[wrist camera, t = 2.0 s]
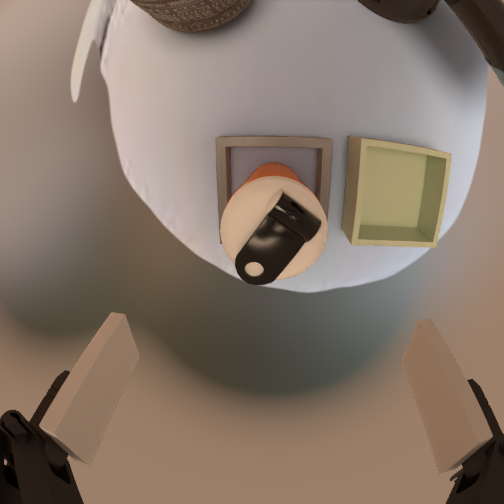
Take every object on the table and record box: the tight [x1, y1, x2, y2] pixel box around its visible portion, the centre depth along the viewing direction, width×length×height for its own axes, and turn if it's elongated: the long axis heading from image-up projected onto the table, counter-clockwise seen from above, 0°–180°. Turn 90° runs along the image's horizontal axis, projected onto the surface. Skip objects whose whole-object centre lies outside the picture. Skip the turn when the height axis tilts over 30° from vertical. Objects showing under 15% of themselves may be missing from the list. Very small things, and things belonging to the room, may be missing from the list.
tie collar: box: [216, 136, 332, 244], centre depth 37 cm, size 17×14×4 cm
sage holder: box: [341, 136, 451, 248], centre depth 34 cm, size 14×14×6 cm
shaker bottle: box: [220, 163, 328, 285], centre depth 29 cm, size 9×9×20 cm
